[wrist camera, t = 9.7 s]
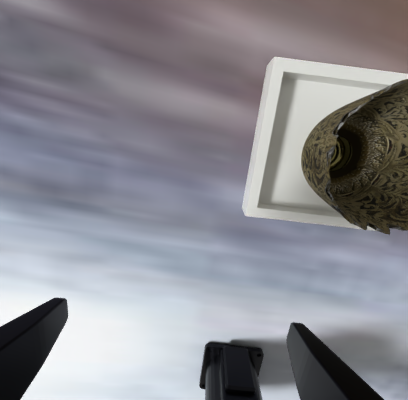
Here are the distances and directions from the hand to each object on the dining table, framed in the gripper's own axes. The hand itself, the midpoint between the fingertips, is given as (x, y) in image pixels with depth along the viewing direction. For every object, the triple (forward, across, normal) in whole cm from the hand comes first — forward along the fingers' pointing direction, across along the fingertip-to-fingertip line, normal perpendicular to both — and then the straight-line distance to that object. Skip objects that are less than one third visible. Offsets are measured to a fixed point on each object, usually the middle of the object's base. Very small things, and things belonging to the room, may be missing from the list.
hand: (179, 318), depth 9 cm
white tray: (+12, -10, -7) cm, 17 cm away
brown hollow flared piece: (+12, -10, -7) cm, 17 cm away
